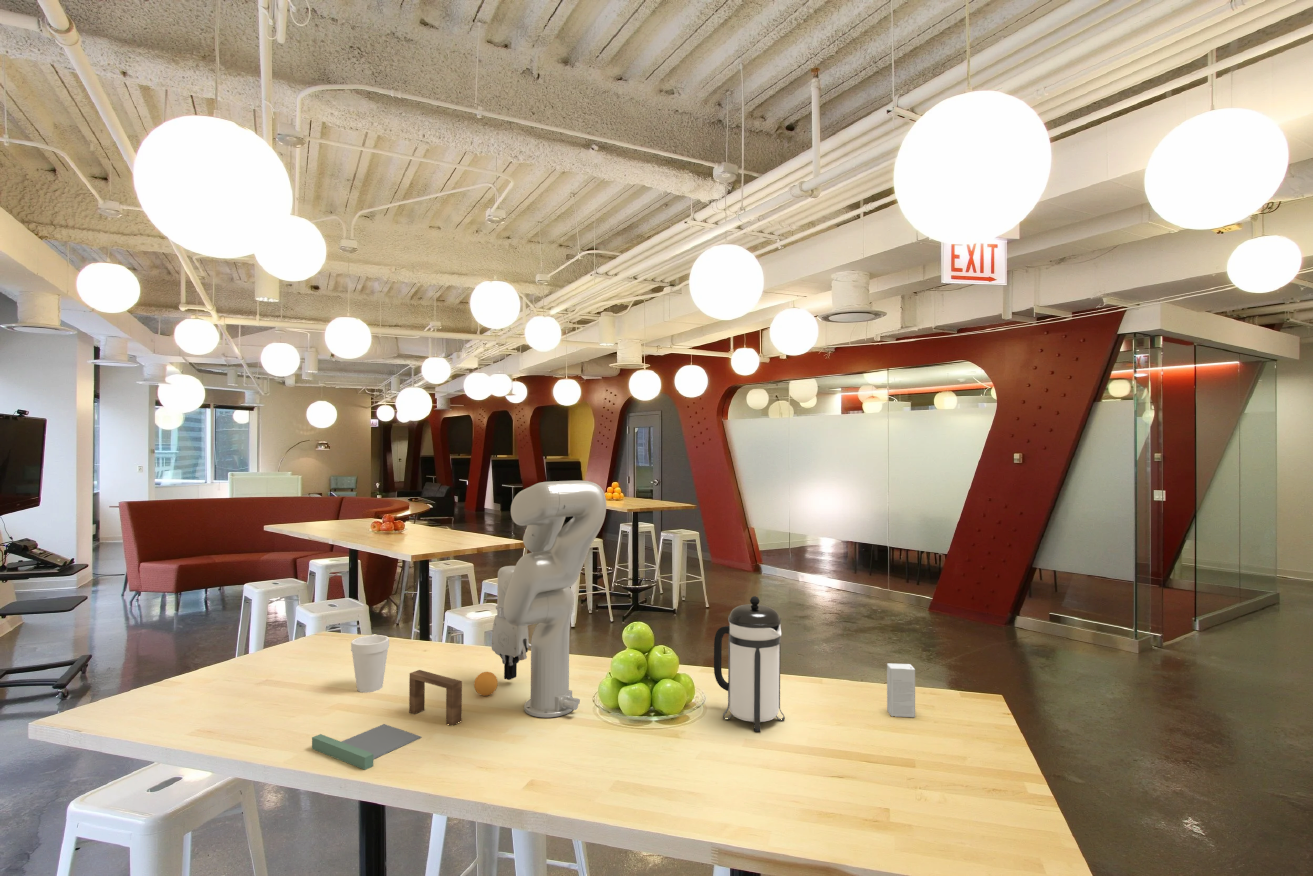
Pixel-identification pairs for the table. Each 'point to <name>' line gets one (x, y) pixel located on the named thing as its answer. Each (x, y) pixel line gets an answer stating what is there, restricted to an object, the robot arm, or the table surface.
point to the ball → (485, 683)
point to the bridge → (451, 685)
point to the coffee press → (751, 663)
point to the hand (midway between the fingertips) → (510, 678)
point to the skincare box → (901, 690)
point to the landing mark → (381, 740)
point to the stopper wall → (342, 751)
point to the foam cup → (369, 661)
